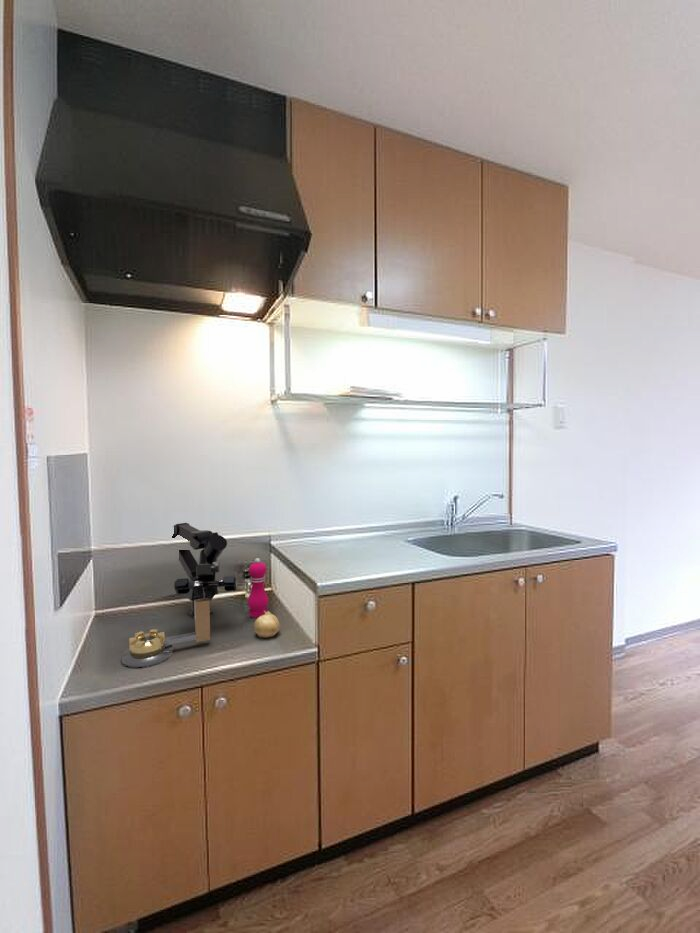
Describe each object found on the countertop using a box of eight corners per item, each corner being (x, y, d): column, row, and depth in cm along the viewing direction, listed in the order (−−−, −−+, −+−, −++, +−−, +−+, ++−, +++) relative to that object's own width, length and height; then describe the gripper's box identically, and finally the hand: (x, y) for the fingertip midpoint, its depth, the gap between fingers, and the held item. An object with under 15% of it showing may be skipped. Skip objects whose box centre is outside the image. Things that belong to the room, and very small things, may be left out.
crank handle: (129, 660, 118) (128, 617, 118) (130, 646, 126) (128, 606, 126) (212, 644, 128) (211, 604, 127) (207, 631, 136) (206, 594, 135)
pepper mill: (263, 619, 150) (263, 561, 148) (244, 617, 151) (243, 560, 150) (271, 610, 157) (271, 556, 156) (253, 609, 158) (252, 555, 157)
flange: (116, 655, 125) (116, 649, 125) (163, 641, 134) (163, 636, 134) (129, 673, 115) (129, 667, 115) (179, 657, 124) (179, 651, 124)
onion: (284, 635, 138) (284, 613, 137) (262, 643, 132) (262, 620, 132) (270, 627, 144) (270, 606, 143) (249, 634, 138) (248, 612, 138)
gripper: (174, 554, 138) (168, 601, 128) (235, 551, 142) (234, 596, 132) (179, 571, 146) (174, 616, 136) (237, 568, 150) (236, 612, 140)
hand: (204, 610), depth 136 cm, fingers closed
